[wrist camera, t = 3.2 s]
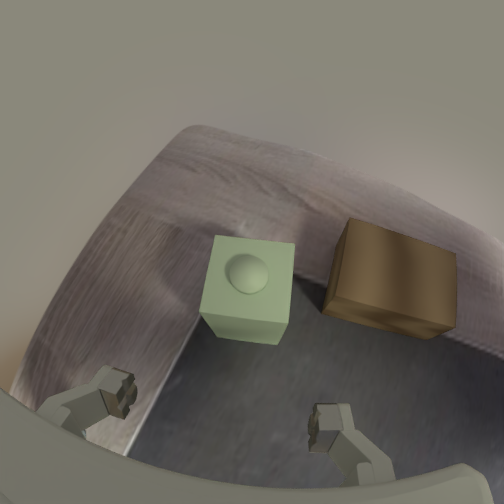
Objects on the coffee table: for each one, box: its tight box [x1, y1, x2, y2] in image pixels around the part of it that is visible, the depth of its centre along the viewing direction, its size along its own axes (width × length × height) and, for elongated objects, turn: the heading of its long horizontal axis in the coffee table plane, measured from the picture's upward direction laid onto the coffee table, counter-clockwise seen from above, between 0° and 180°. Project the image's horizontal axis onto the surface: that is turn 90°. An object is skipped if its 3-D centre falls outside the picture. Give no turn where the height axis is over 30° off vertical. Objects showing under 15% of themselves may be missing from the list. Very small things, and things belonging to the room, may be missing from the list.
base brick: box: [321, 218, 457, 340], centre depth 22 cm, size 11×7×5 cm, turn 72°
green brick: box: [199, 235, 295, 345], centre depth 20 cm, size 5×5×8 cm
